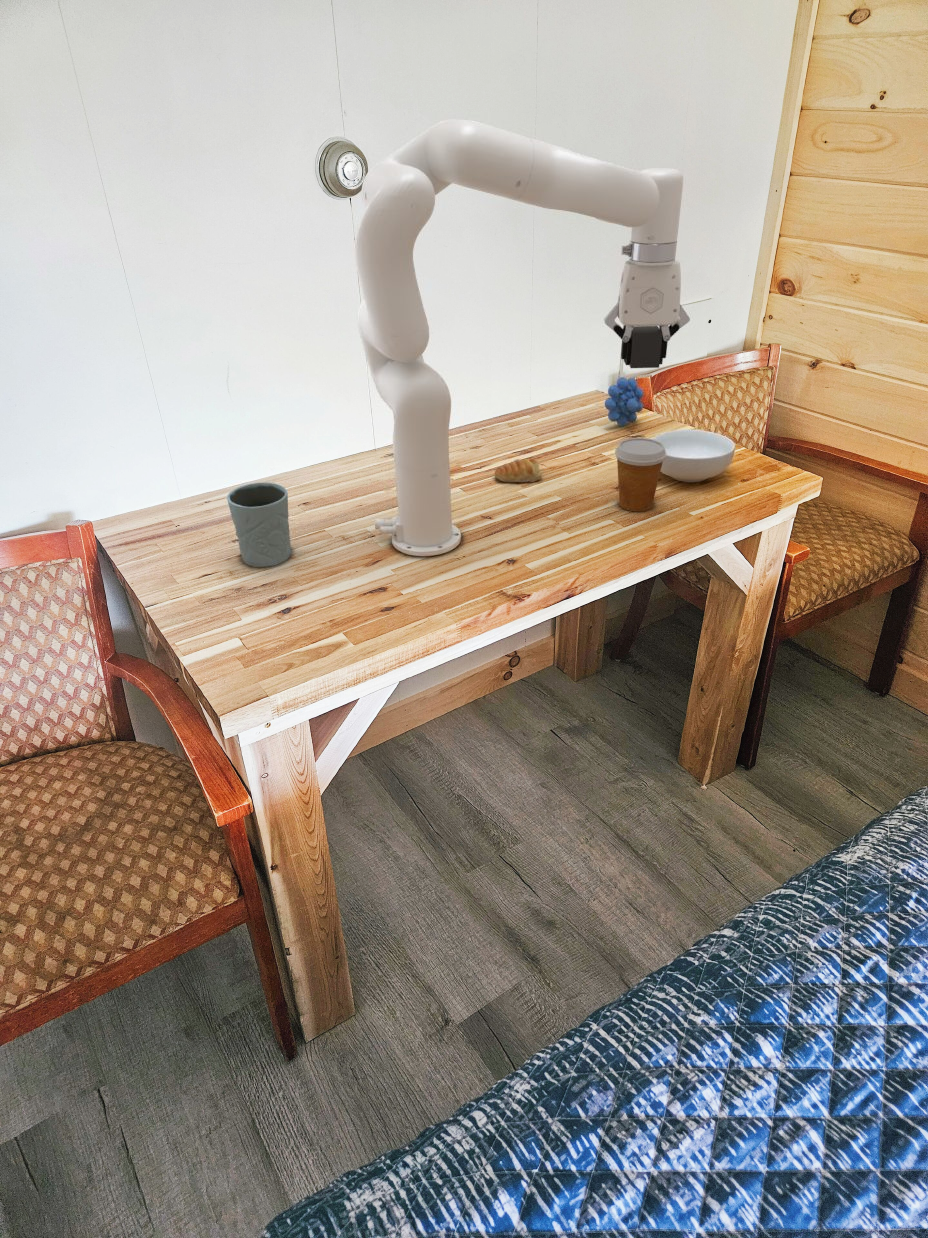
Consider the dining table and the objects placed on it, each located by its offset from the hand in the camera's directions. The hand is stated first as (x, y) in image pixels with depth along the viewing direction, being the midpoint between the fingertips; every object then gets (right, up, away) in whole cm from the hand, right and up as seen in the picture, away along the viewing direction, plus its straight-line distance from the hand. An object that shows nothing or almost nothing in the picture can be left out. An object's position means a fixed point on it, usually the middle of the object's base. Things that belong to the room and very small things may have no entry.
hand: (642, 361), depth 146 cm
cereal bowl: (+15, -16, +25) cm, 33 cm away
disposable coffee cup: (+2, -24, +13) cm, 27 cm away
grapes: (+7, 0, +49) cm, 50 cm away
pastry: (-20, -16, +26) cm, 37 cm away
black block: (0, 0, 0) cm, 0 cm away
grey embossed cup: (-67, -35, 0) cm, 76 cm away
